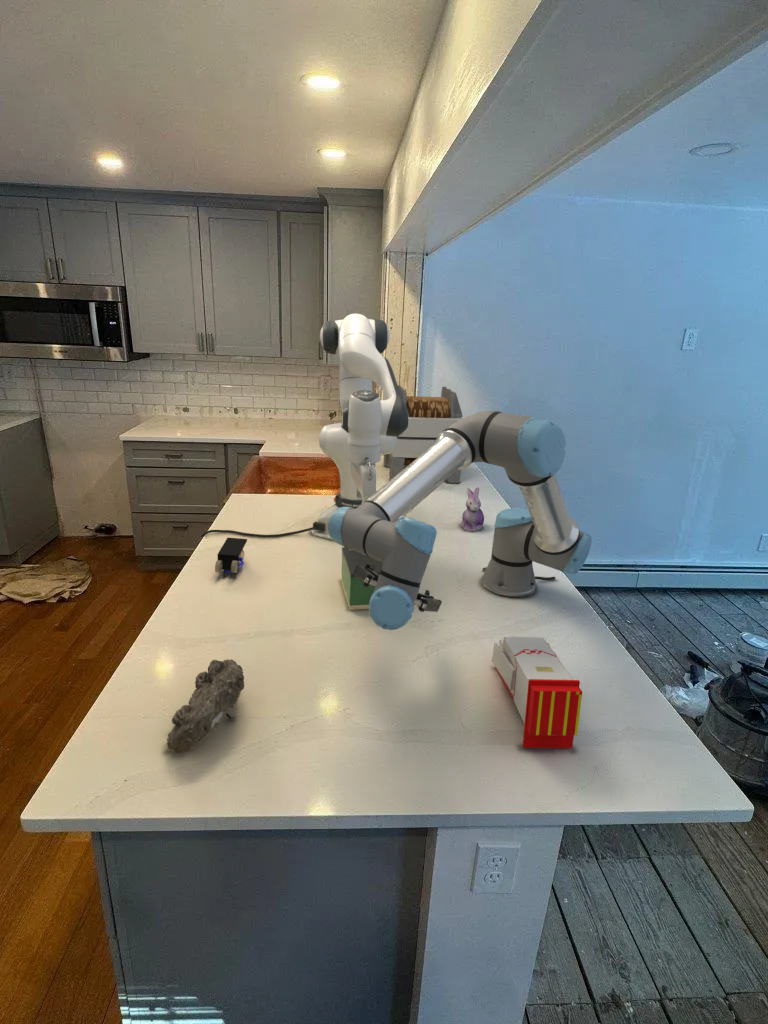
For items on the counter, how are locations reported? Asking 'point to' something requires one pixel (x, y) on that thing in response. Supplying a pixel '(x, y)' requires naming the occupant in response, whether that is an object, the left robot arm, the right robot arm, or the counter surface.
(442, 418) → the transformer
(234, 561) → the black toy car
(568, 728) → the toy
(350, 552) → the lid
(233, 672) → the fossil
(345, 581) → the chest
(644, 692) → the counter surface
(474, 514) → the figurine
